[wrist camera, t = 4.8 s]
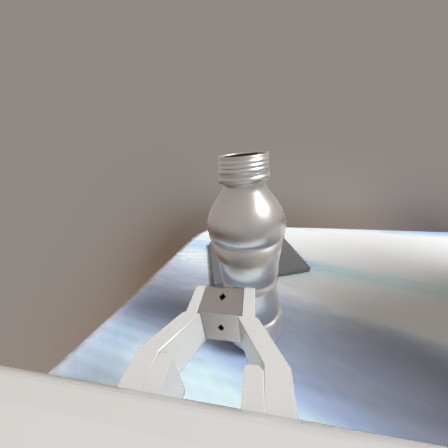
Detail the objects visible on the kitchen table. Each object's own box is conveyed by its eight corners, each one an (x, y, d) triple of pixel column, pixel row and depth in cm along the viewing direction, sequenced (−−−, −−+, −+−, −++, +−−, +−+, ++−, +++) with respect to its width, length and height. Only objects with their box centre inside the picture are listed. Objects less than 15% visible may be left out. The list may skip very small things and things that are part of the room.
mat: (277, 234, 41) (278, 231, 41) (309, 271, 29) (310, 267, 29) (209, 245, 40) (209, 242, 40) (214, 288, 28) (213, 284, 28)
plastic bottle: (291, 357, 18) (311, 150, 10) (226, 365, 18) (191, 164, 10) (272, 305, 24) (275, 147, 16) (223, 311, 24) (199, 156, 16)
